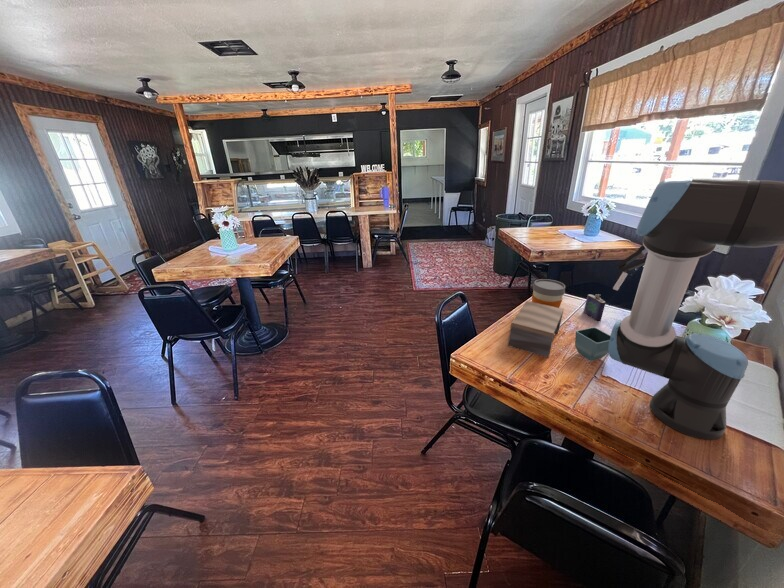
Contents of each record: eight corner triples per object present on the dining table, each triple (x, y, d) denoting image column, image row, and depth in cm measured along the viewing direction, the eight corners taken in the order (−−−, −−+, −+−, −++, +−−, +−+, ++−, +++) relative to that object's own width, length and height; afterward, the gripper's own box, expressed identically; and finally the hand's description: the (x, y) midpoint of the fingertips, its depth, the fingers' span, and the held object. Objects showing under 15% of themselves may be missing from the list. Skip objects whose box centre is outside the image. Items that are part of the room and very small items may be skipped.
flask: (581, 312, 142) (587, 290, 138) (587, 311, 142) (593, 290, 138) (597, 322, 134) (603, 299, 129) (603, 321, 134) (609, 298, 130)
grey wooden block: (548, 357, 111) (553, 333, 107) (508, 345, 119) (511, 322, 114) (558, 330, 128) (563, 308, 123) (523, 321, 135) (526, 300, 131)
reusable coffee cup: (541, 306, 148) (547, 277, 141) (565, 318, 137) (572, 286, 131) (522, 312, 143) (527, 282, 137) (545, 324, 132) (551, 292, 126)
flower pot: (588, 347, 117) (594, 326, 113) (610, 360, 109) (617, 338, 105) (569, 351, 114) (575, 330, 111) (590, 366, 107) (597, 343, 103)
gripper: (728, 255, 91) (682, 318, 98) (636, 229, 110) (602, 284, 116) (725, 250, 87) (677, 316, 93) (629, 224, 105) (594, 281, 111)
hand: (635, 298), depth 104 cm, fingers open, 13 cm apart
